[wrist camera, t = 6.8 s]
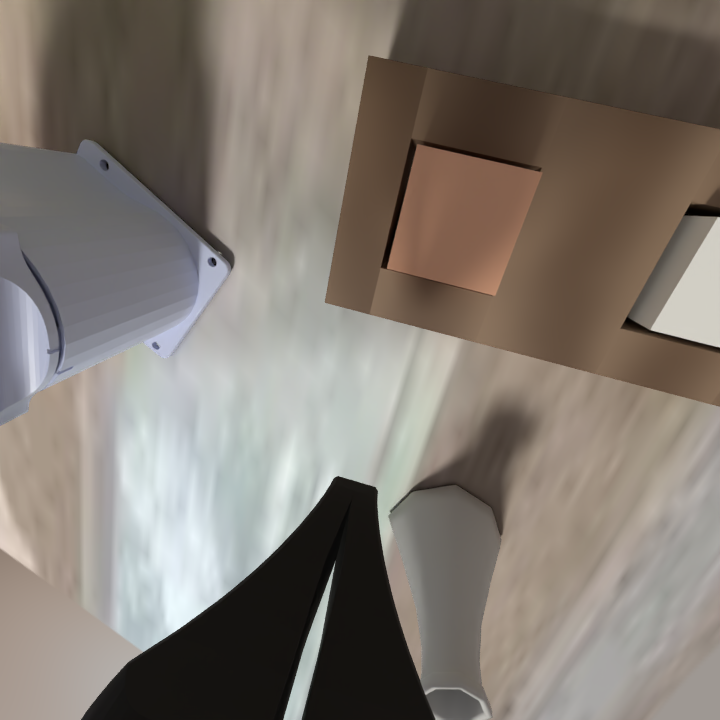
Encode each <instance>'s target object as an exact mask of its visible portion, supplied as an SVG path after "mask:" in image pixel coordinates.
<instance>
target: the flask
mask: <svg viewBox="0 0 720 720" xmlns="http://www.w3.org/2000/svg"><path fill="white" fill-rule="evenodd" d="M389 520H390V523H391V527H392V530H393V533H394V536H395V539H396V542H397V545H398V548H399V551H400V554H401V558H402V561H403V564H404V568H405V571H406V575H407V578H408V582H409V585H410V589H411V592H412V596H413V599H414V603H415V606H416V611H417V618H418V625H419V632H420V639H421V646H422V674H421V680H420V682H421V684H422V687H423V690H424V692H425V695H426V697H427V700H428V702H429V705H430V707H431V709H432V712H433V714H434V717H435V719H436V720H488V719H490V718H492V710H491V706H490V703H489V701H488V698H487V696H486V693H485V691H484V688H483V686H482V682H481V672H480V662H479V661H480V642H481V624H482V619H483V615H484V610H485V605H486V601H487V596H488V592H489V587H490V583H491V579H492V575H493V571H494V568H495V564H496V560H497V557H498V553H499V549H500V544H501V537H500V533H499V530H498V527H497V524H496V520H495V517H494V514H493V511H492V508H491V507H490V506H488V505H487V504H485V503H483V502H482V501H480V500H479V499H477V498H476V497H474V496H473V495H471V494H469V493H468V492H466V491H465V490H463V489H462V488H460V487H459V486H457V485H450V486H444V487H438V488H432V489H426V490H419V491H413V492H412V493H411V494H410V495H409V496H408V497H407V498H406V499H405V500H404V501H403V502H402V503H401V504H400V505H399V506H398V507H397V508H396V509H395V510H394V511H393V512H392V513H391V514H390V515H389Z"/></svg>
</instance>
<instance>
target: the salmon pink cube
mask: <svg viewBox="0 0 720 720" xmlns="http://www.w3.org/2000/svg"><path fill="white" fill-rule="evenodd" d="M541 176H542V172H538V171H534V170H529V169H525V168H520V167H516V166H512V165H507V164H503V163H498V162H494V161H489V160H485V159H481V158H476V157H472V156H467V155H463V154H459V153H454V152H450V151H445V150H441V149H436V148H432V147H428V146H423V145H419V144H417V148H416V152H415V156H414V160H413V164H412V168H411V172H410V176H409V180H408V184H407V189H406V193H405V197H404V201H403V205H402V209H401V213H400V217H399V221H398V225H397V229H396V234H395V238H394V242H393V246H392V250H391V254H390V258H389V262H388V266H387V269H390V270H394V271H398V272H402V273H406V274H410V275H414V276H418V277H422V278H426V279H430V280H434V281H438V282H442V283H446V284H450V285H454V286H458V287H462V288H466V289H469V290H473V291H477V292H481V293H485V294H489V295H493V296H495V295H496V293H497V290H498V288H499V285H500V282H501V280H502V277H503V275H504V272H505V269H506V267H507V264H508V262H509V259H510V256H511V254H512V251H513V249H514V246H515V243H516V241H517V238H518V236H519V233H520V230H521V228H522V225H523V223H524V220H525V218H526V215H527V212H528V210H529V207H530V205H531V202H532V199H533V197H534V194H535V192H536V189H537V186H538V184H539V181H540V179H541Z"/></svg>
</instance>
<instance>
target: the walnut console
mask: <svg viewBox="0 0 720 720" xmlns="http://www.w3.org/2000/svg"><path fill="white" fill-rule="evenodd" d="M417 144H419V145H423V146H428V147H432V148H436V149H441V150H445V151H450V152H454V153H459V154H463V155H467V156H472V157H476V158H481V159H485V160H489V161H494V162H498V163H503V164H507V165H512V166H516V167H520V168H525V169H529V170H534V171H538V172H542V176H541V179H540V181H539V184H538V186H537V189H536V192H535V194H534V197H533V199H532V202H531V205H530V207H529V210H528V212H527V215H526V218H525V220H524V223H523V225H522V228H521V230H520V233H519V236H518V238H517V241H516V243H515V246H514V249H513V251H512V254H511V256H510V259H509V262H508V264H507V267H506V269H505V272H504V275H503V277H502V280H501V282H500V285H499V288H498V290H497V293H496V295H495V296H493V295H489V294H485V293H481V292H477V291H473V290H469V289H466V288H462V287H458V286H454V285H450V284H446V283H442V282H438V281H434V280H430V279H426V278H422V277H418V276H414V275H410V274H406V273H402V272H398V271H394V270H390V269H387V266H388V262H389V258H390V257H389V254H390V250H391V246H392V242H393V238H394V234H395V230H396V226H397V222H398V217H399V213H400V209H401V205H402V201H403V197H404V193H405V189H406V185H407V180H408V176H409V172H410V168H411V164H412V160H413V156H414V152H415V151H416V148H417ZM685 213H688V214H692V215H697V216H706V217H720V129H716V128H711V127H707V126H702V125H697V124H692V123H688V122H683V121H678V120H673V119H669V118H664V117H659V116H654V115H650V114H645V113H640V112H635V111H631V110H626V109H621V108H616V107H612V106H607V105H602V104H597V103H593V102H588V101H583V100H578V99H574V98H569V97H564V96H559V95H555V94H550V93H545V92H540V91H536V90H531V89H526V88H521V87H517V86H512V85H507V84H502V83H498V82H493V81H488V80H483V79H479V78H474V77H469V76H464V75H460V74H455V73H450V72H445V71H441V70H436V69H431V68H426V67H422V66H417V65H412V64H407V63H403V62H398V61H393V60H388V59H384V58H379V57H374V56H368V62H367V68H366V73H365V79H364V85H363V90H362V96H361V102H360V107H359V113H358V118H357V124H356V130H355V135H354V141H353V147H352V152H351V158H350V163H349V169H348V175H347V180H346V186H345V192H344V197H343V203H342V208H341V214H340V220H339V225H338V231H337V237H336V242H335V248H334V253H333V259H332V265H331V270H330V276H329V282H328V287H327V293H326V298H325V303H328V304H332V305H336V306H340V307H344V308H347V309H351V310H355V311H359V312H363V313H366V314H370V315H374V316H378V317H381V318H385V319H389V320H393V321H397V322H400V323H404V324H408V325H412V326H416V327H419V328H423V329H427V330H431V331H435V332H438V333H442V334H446V335H450V336H454V337H457V338H461V339H465V340H469V341H473V342H476V343H480V344H484V345H488V346H492V347H495V348H499V349H503V350H507V351H511V352H514V353H518V354H522V355H526V356H530V357H533V358H537V359H541V360H545V361H549V362H552V363H556V364H560V365H564V366H568V367H571V368H575V369H579V370H583V371H587V372H590V373H594V374H598V375H602V376H606V377H609V378H613V379H617V380H621V381H625V382H628V383H632V384H636V385H640V386H644V387H647V388H651V389H655V390H659V391H663V392H666V393H670V394H674V395H678V396H682V397H685V398H689V399H693V400H697V401H701V402H704V403H708V404H712V405H716V406H720V347H716V346H712V345H708V344H704V343H700V342H696V341H692V340H688V339H684V338H680V337H676V336H672V335H668V334H664V333H660V332H656V331H652V330H649V329H647V328H646V327H644V326H642V325H640V324H639V323H637V322H635V321H633V320H631V319H630V318H628V317H627V316H628V314H629V312H630V310H631V309H632V307H633V305H634V303H635V301H636V300H637V298H638V296H639V294H640V293H641V291H642V289H643V287H644V285H645V284H646V282H647V280H648V278H649V276H650V275H651V273H652V271H653V269H654V268H655V266H656V264H657V262H658V260H659V259H660V257H661V255H662V253H663V252H664V250H665V248H666V246H667V244H668V243H669V241H670V239H671V237H672V236H673V234H674V232H675V230H676V228H677V227H678V225H679V223H680V221H681V219H682V218H683V216H684V214H685Z"/></svg>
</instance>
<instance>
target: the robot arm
mask: <svg viewBox="0 0 720 720" xmlns="http://www.w3.org/2000/svg"><path fill="white" fill-rule="evenodd" d="M106 162H108V164H109V170H108V169H107V167H106ZM212 257H213V258H215V260H216V262H217V264H216V266H215V265H213V263H212ZM230 272H231V266H230V264H229V262H228V261H227V260H226V259H225V258H224V257H222V256H221V255H220V254H219V253H218V252H217V251H216V250H215V249H214V248H213V247H211V246H210V245H209V244H208V243H207V242H206V241H205V240H204V239H203V238H201V237H200V236H199V235H198V234H197V233H196V232H195V231H194V230H193V229H192V228H190V227H189V226H188V225H187V224H186V223H185V222H184V221H183V220H182V219H181V218H179V217H178V216H177V215H176V214H175V213H174V212H173V211H172V210H171V209H169V208H168V207H167V206H166V205H165V204H164V203H163V202H162V201H161V200H160V199H158V198H157V197H156V196H155V195H154V194H153V193H152V192H151V191H150V190H149V189H147V188H146V187H145V186H144V185H143V184H142V183H141V182H140V181H139V180H137V179H136V178H135V177H134V176H133V175H132V174H131V173H130V172H129V171H128V170H126V169H125V168H124V167H123V166H122V165H121V164H120V163H119V162H118V161H117V160H115V159H114V158H113V157H112V156H111V155H110V154H109V153H108V152H107V151H105V150H104V149H103V148H102V147H101V146H100V145H99V144H98V143H96V142H95V141H92V140H86V139H85V140H83V141H82V142H81V143H80V146H79V148H78V151H77V153H76V154H75V153H68V152H61V151H54V150H48V149H41V148H34V147H27V146H20V145H14V144H7V143H0V426H1V425H3V424H5V423H7V422H9V421H11V420H13V419H15V418H16V417H18V416H20V415H22V414H24V413H26V412H28V410H29V402H30V399H31V398H32V396H33V395H35V394H36V393H37V392H39V391H42V390H44V389H46V388H48V387H50V386H52V385H54V384H56V383H59V382H61V381H63V380H65V379H67V378H69V377H71V376H73V375H75V374H77V373H79V372H82V371H84V370H86V369H88V368H90V367H92V366H94V365H96V364H98V363H100V362H102V361H105V360H107V359H109V358H111V357H113V356H115V355H117V354H119V353H121V352H123V351H125V350H127V349H130V348H132V347H134V346H136V345H138V344H140V343H142V342H143V343H144V344H146V345H147V346H148V347H149V348H150V349H152V350H153V351H154V352H155V353H156V354H158V355H159V356H160V357H162V358H168V357H170V356H171V355H172V354H173V353H174V352H175V350H176V349H177V347H178V346H179V345H180V343H181V342H182V340H183V339H184V338H185V336H186V335H187V333H188V332H189V331H190V329H191V328H192V326H193V325H194V323H195V322H196V321H197V319H198V318H199V316H200V315H201V314H202V312H203V311H204V309H205V308H206V307H207V305H208V304H209V302H210V301H211V300H212V298H213V297H214V295H215V294H216V293H217V291H218V290H219V288H220V287H221V285H222V284H223V283H224V281H225V280H226V278H227V277H228V276H229V274H230ZM156 342H157V343H158V344H159V345H160V347H159V346H158V345H157V343H156ZM377 494H378V491H377V489H376V487H373V486H370V485H366V484H363V483H359V482H356V481H353V480H349V479H346V478H343V477H339V476H337V477H335V478H334V479H333V481H332V483H331V485H330V486H329V488H328V489H327V491H326V492H325V494H324V495H323V497H322V498H321V499H320V501H319V502H318V503H317V505H316V506H315V507H314V509H313V510H312V511H311V512H310V513H309V515H308V516H307V517H306V518H305V519H304V521H303V522H302V523H301V524H300V525H299V527H298V528H297V529H296V530H295V531H294V532H293V533H292V534H291V535H290V536H289V537H288V538H287V539H286V540H285V542H284V543H283V544H282V545H281V546H280V547H279V548H278V549H277V550H276V551H275V552H274V553H273V554H272V555H271V556H270V557H269V558H267V559H266V560H265V561H264V562H263V563H262V564H261V565H260V566H259V567H258V568H257V569H256V570H254V571H253V572H252V573H251V574H250V575H249V576H247V577H246V578H245V579H244V580H243V581H242V582H240V583H239V584H238V585H237V586H236V587H234V588H233V589H232V590H231V591H230V592H228V593H227V594H226V595H225V596H223V597H222V598H221V599H219V600H218V601H217V602H216V603H214V604H213V605H211V606H210V607H209V608H207V609H206V610H205V611H203V612H202V613H201V614H199V615H198V616H196V617H195V618H194V619H192V620H191V621H190V622H188V623H187V624H186V625H184V626H183V627H181V628H180V629H178V630H177V631H175V632H174V633H172V634H171V635H169V636H168V637H166V638H165V639H163V640H162V641H160V642H158V643H157V644H155V645H154V646H152V647H151V648H149V649H148V650H146V651H145V652H143V653H142V654H140V655H138V656H137V657H135V658H134V659H132V660H131V661H129V662H128V663H127V664H126V665H125V666H124V668H123V669H121V671H120V672H119V673H118V674H117V675H116V676H115V677H114V678H113V679H112V681H111V682H110V683H109V684H108V685H107V687H106V688H105V689H104V690H103V691H102V693H101V694H100V695H99V696H98V697H97V699H96V700H95V701H94V702H93V704H92V705H91V706H90V708H89V709H88V710H87V712H86V713H85V715H84V716H83V718H82V719H81V720H283V718H284V715H285V711H286V708H287V704H288V701H289V697H290V694H291V690H292V687H293V683H294V680H295V676H296V673H297V669H298V666H299V662H300V659H301V656H302V652H303V649H304V646H305V643H306V640H307V637H308V634H309V631H310V629H311V626H312V623H313V620H314V618H315V615H316V612H317V610H318V607H319V604H320V601H321V599H322V596H323V593H324V591H325V588H326V585H327V583H328V580H329V577H330V574H331V572H332V569H333V566H334V563H335V568H334V573H333V579H332V584H331V590H330V595H329V601H328V606H327V612H326V617H325V623H324V628H323V634H322V639H321V644H320V649H319V653H318V658H317V662H316V666H315V670H314V673H313V677H312V681H311V685H310V689H309V693H308V697H307V701H306V705H305V709H304V712H303V716H302V720H436V719H435V717H434V714H433V712H432V709H431V707H430V705H429V702H428V700H427V697H426V695H425V692H424V690H423V687H422V684H421V682H420V679H419V676H418V674H417V671H416V668H415V665H414V663H413V660H412V657H411V655H410V652H409V649H408V646H407V643H406V640H405V637H404V634H403V631H402V627H401V624H400V621H399V618H398V614H397V611H396V607H395V604H394V600H393V596H392V592H391V588H390V584H389V580H388V575H387V571H386V566H385V561H384V556H383V550H382V544H381V537H380V530H379V521H378V508H377ZM335 561H336V562H335Z"/></svg>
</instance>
